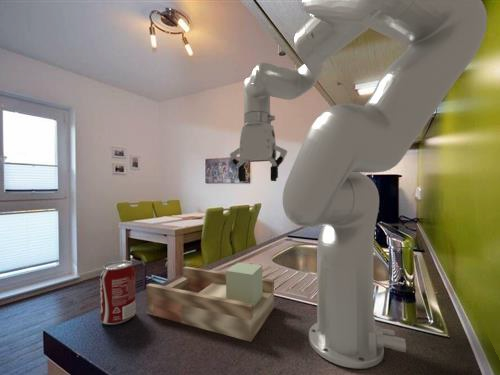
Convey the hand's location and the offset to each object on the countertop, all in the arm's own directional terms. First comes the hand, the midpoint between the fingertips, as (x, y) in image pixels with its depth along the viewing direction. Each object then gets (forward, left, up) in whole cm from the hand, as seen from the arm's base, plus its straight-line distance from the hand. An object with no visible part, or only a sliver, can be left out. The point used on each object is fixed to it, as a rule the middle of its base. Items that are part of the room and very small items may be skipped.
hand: (257, 181), depth 70 cm
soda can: (+22, +28, -31) cm, 47 cm away
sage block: (-4, +17, -26) cm, 32 cm away
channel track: (+5, +17, -30) cm, 35 cm away
